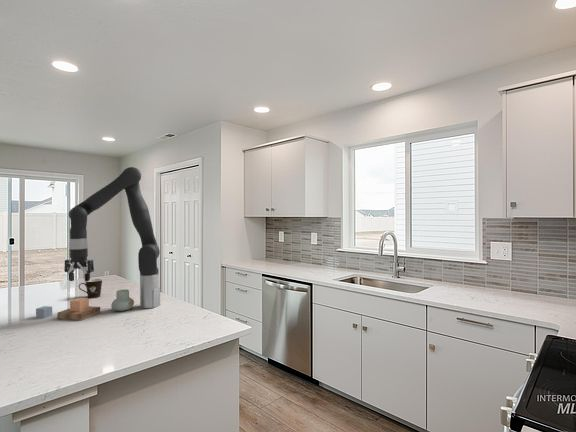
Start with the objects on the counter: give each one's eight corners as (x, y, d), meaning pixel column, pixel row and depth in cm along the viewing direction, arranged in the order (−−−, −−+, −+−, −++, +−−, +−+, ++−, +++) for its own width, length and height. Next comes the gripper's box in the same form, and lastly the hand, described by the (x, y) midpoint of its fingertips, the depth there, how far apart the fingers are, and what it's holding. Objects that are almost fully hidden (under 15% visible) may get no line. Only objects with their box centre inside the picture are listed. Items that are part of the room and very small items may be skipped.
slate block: (52, 315, 161) (52, 306, 161) (43, 318, 157) (43, 309, 157) (44, 315, 162) (44, 306, 162) (36, 318, 158) (35, 308, 158)
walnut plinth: (100, 312, 165) (100, 306, 165) (81, 320, 153) (81, 314, 153) (77, 311, 168) (77, 305, 167) (57, 318, 156) (57, 312, 156)
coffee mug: (105, 295, 201) (105, 279, 200) (95, 298, 192) (95, 281, 192) (87, 294, 202) (87, 278, 202) (77, 298, 193) (77, 281, 193)
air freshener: (125, 312, 165) (125, 293, 165) (109, 312, 165) (109, 293, 165) (135, 306, 176) (135, 288, 176) (120, 306, 176) (120, 288, 176)
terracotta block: (88, 308, 163) (88, 298, 163) (79, 311, 157) (79, 301, 157) (79, 307, 164) (79, 297, 164) (69, 311, 158) (69, 300, 158)
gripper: (97, 247, 162) (98, 279, 163) (72, 247, 165) (72, 279, 165) (85, 248, 155) (86, 283, 155) (59, 248, 157) (60, 282, 158)
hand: (79, 281), depth 160 cm, fingers open, 8 cm apart
